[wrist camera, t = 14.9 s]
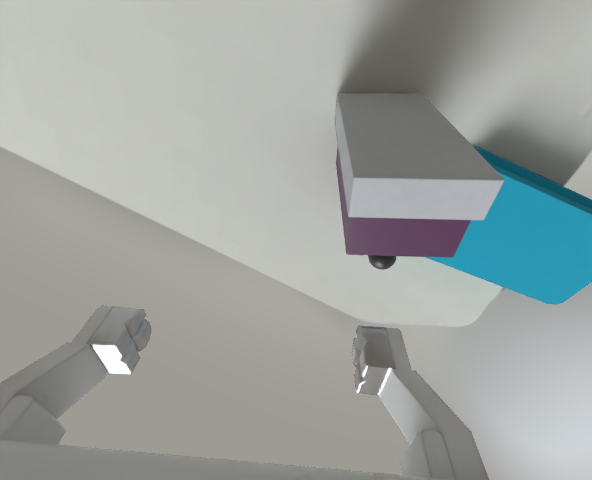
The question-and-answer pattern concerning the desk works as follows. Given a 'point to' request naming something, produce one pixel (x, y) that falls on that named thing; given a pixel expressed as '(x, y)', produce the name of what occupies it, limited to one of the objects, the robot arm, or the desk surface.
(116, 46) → the desk surface
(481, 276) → the blue shallow tray
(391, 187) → the iron
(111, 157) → the desk surface
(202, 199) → the desk surface
